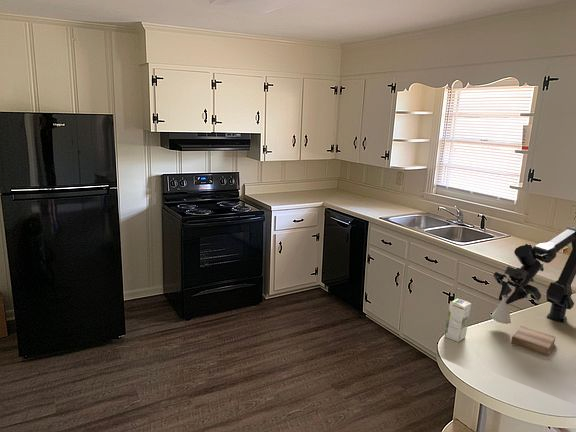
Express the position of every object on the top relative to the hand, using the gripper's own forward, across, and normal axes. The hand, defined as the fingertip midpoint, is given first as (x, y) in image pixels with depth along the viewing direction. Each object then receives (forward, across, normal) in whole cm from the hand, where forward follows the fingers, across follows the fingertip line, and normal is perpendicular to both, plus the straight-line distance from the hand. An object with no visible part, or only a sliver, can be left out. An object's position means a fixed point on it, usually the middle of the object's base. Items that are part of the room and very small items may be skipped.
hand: (502, 301), depth 174 cm
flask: (+5, 0, +6) cm, 8 cm away
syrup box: (+24, -1, -6) cm, 25 cm away
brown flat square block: (+6, +12, +12) cm, 18 cm away
